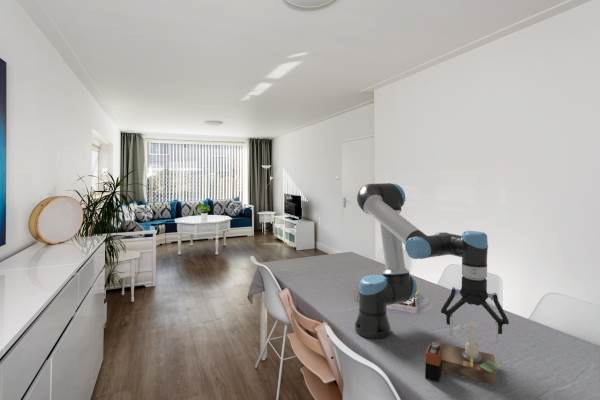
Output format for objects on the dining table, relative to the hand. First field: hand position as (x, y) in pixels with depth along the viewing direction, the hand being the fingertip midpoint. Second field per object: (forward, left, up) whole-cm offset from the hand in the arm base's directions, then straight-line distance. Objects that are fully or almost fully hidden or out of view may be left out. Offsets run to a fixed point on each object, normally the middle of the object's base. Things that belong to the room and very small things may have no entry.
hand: (472, 338), depth 109 cm
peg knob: (0, -2, -7) cm, 7 cm away
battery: (-11, -10, -12) cm, 19 cm away
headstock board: (-3, 0, -11) cm, 12 cm away
